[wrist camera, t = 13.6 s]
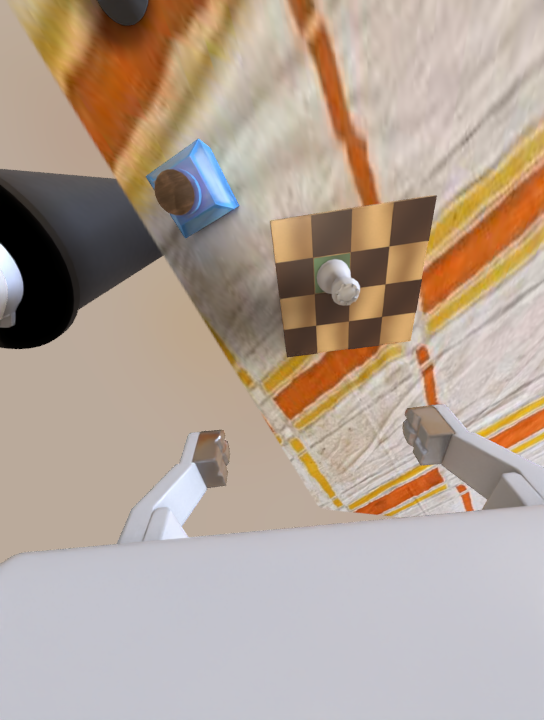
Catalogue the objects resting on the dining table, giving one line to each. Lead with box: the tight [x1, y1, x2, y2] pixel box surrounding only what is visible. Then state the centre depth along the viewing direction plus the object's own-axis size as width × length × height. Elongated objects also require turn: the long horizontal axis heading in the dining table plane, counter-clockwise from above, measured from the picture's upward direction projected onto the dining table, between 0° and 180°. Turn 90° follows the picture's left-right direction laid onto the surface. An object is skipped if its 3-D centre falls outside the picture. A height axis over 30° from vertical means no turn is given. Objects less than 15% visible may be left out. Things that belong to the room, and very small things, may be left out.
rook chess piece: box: [317, 259, 360, 306], centre depth 32 cm, size 4×4×8 cm
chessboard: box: [270, 195, 437, 357], centre depth 37 cm, size 20×20×1 cm
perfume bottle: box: [146, 139, 239, 239], centre depth 26 cm, size 6×6×12 cm
